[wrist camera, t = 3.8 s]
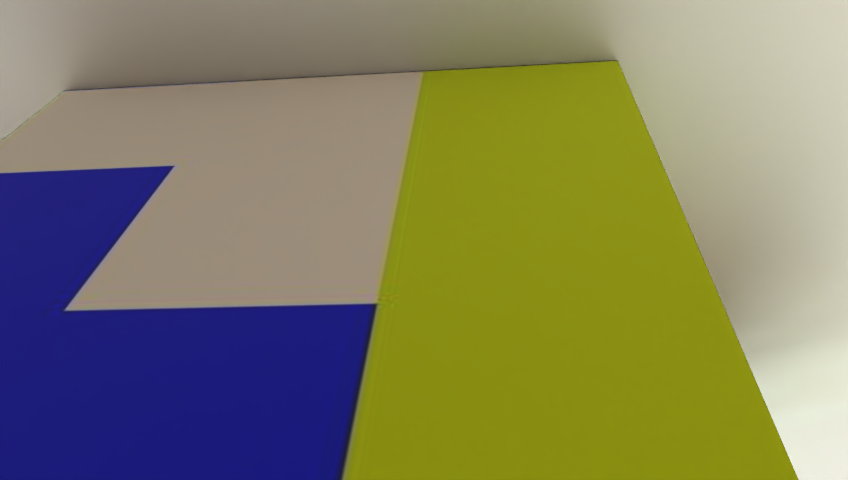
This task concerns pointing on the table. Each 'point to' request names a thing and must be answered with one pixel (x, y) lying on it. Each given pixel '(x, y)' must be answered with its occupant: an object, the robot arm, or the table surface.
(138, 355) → the puzzle toy
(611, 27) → the table surface
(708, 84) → the table surface
